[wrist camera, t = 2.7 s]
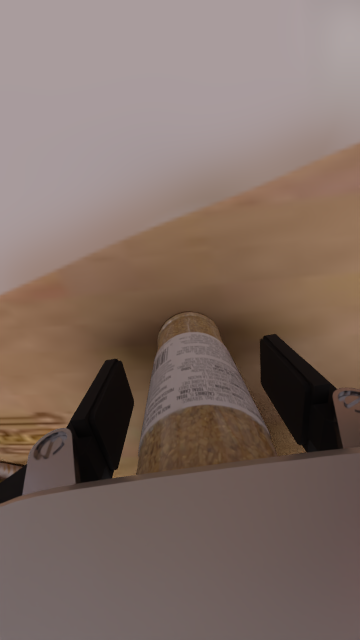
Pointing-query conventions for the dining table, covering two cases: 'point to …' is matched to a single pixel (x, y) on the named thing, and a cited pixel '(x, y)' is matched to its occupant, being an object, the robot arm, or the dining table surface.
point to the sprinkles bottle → (198, 403)
